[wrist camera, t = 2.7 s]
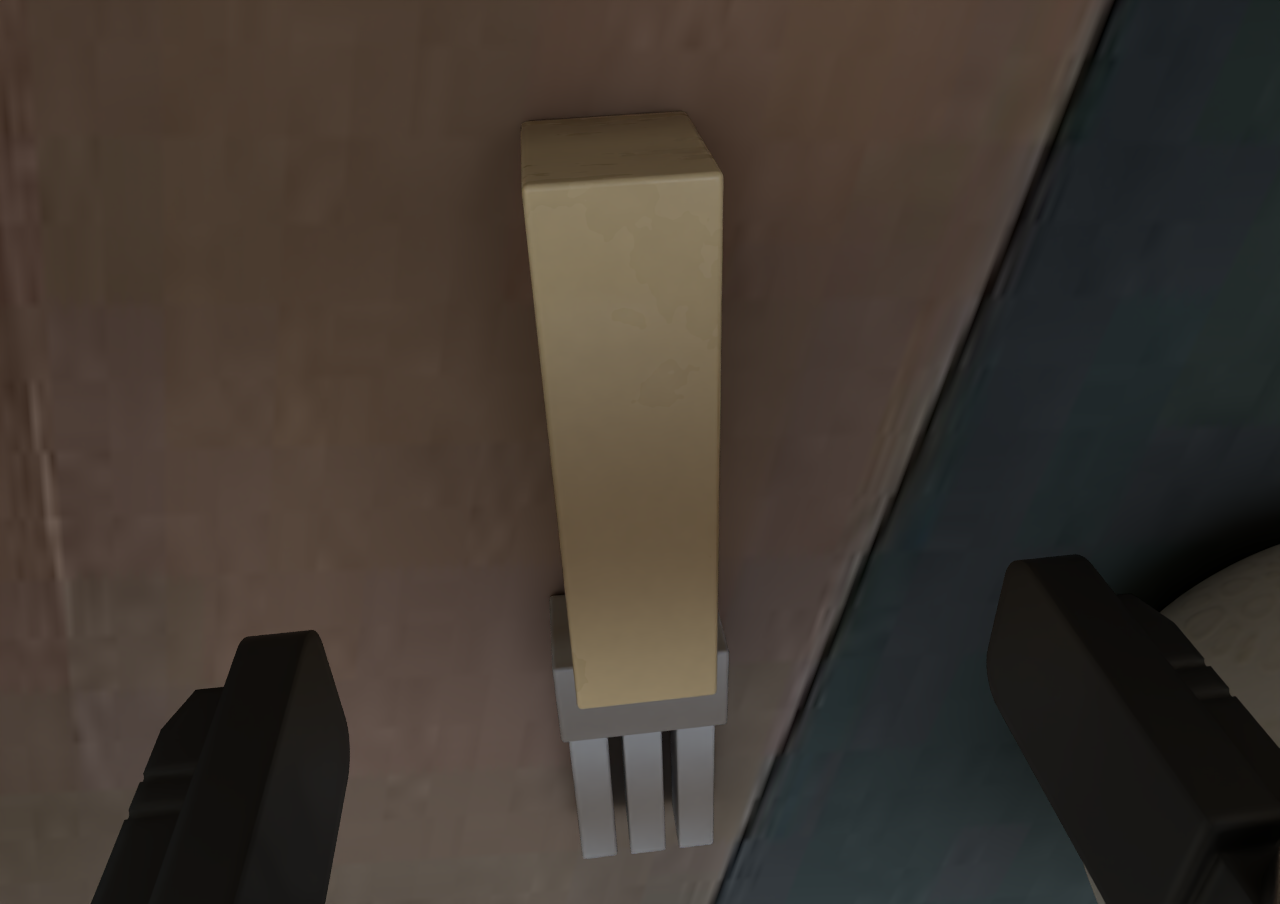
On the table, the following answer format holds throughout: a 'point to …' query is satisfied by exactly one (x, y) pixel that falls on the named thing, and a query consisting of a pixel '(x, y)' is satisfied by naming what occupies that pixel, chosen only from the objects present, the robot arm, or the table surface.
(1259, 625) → the planter
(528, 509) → the table surface
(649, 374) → the fork
